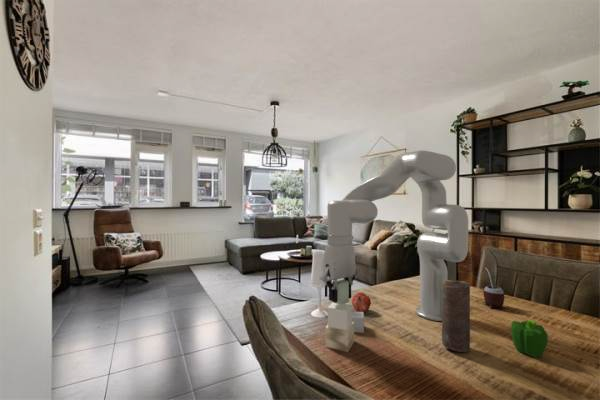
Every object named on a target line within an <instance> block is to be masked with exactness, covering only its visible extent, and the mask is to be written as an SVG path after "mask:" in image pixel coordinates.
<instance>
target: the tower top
mask: <svg viewBox="0 0 600 400" xmlns="http://www.w3.org/2000/svg"><path fill="white" fill-rule="evenodd" d="M352 311H353V305H352V302H350V303H349V302H348V303H346V304H336V303H333V302H332V301H331V303H330V304H329V306H327V313H328V315H327V325H328V327H329V328H334V329H339V330H344V331H347V330H348V329H349V327H350V325H351V324H352Z"/></svg>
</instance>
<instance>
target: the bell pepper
mask: <svg viewBox="0 0 600 400" xmlns="http://www.w3.org/2000/svg"><path fill="white" fill-rule="evenodd" d="M510 335H511V338H512V339H511V340H512V342H513V343H512V344H513V346H514V347H515V349H516V350H517V351H518V352H520V353H523V354H526V355H528V356H530V357H532V358H533V357H534V358H541V357H542V356H543V355H544V353H545V351H546V348H547V345H548V340H549V335H548V333H547V331H546V330H545V328H544V326H543V325H541V324H540V325H539V324H538V322H536V321H535V320H532V319H528V320H524V321H523V320H522V321H516V320H513V321H512V322H511V324H510Z"/></svg>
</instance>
